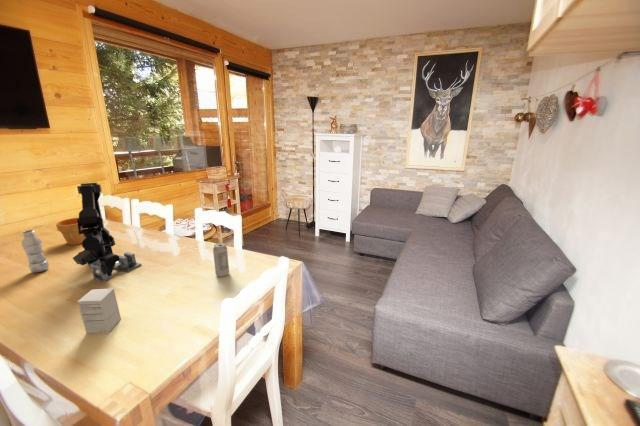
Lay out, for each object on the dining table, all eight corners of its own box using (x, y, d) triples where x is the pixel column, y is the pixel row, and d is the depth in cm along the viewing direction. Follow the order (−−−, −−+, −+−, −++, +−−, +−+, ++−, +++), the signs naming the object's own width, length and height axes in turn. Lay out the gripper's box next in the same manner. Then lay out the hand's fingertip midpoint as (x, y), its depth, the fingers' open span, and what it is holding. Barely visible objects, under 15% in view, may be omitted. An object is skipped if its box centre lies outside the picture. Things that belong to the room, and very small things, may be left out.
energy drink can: (225, 270, 137) (222, 241, 132) (231, 274, 133) (229, 245, 128) (213, 274, 133) (210, 244, 128) (219, 279, 129) (216, 248, 124)
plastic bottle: (53, 268, 136) (42, 229, 130) (36, 275, 130) (23, 234, 124) (44, 266, 138) (33, 228, 132) (27, 273, 132) (14, 233, 126)
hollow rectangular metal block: (93, 279, 127) (90, 263, 125) (102, 274, 131) (99, 259, 129) (103, 281, 125) (100, 266, 123) (112, 277, 129) (109, 262, 127)
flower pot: (97, 240, 169) (92, 220, 165) (67, 248, 158) (61, 227, 154) (87, 235, 176) (82, 216, 173) (57, 243, 165) (51, 222, 161)
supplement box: (99, 319, 101) (92, 288, 97) (121, 318, 102) (114, 287, 98) (85, 334, 94) (76, 301, 90) (108, 333, 95) (100, 300, 91)
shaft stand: (91, 278, 128) (88, 265, 126) (127, 262, 143) (124, 250, 142) (106, 282, 125) (103, 269, 123) (141, 265, 140) (139, 254, 138)
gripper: (59, 245, 119) (68, 278, 123) (89, 252, 113) (98, 287, 117) (87, 236, 129) (95, 267, 133) (117, 242, 123) (123, 274, 127)
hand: (102, 273), depth 128 cm, fingers open, 9 cm apart
